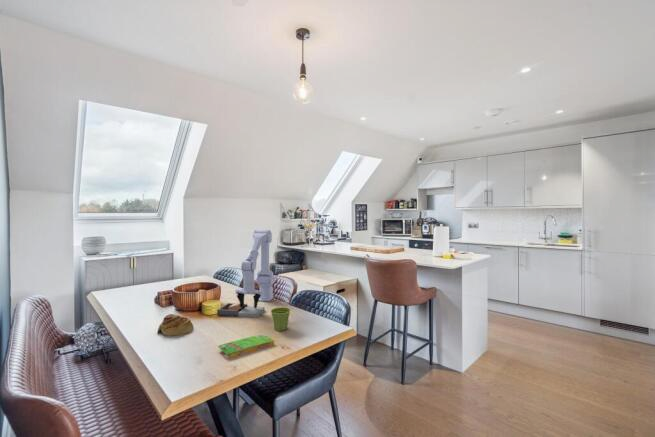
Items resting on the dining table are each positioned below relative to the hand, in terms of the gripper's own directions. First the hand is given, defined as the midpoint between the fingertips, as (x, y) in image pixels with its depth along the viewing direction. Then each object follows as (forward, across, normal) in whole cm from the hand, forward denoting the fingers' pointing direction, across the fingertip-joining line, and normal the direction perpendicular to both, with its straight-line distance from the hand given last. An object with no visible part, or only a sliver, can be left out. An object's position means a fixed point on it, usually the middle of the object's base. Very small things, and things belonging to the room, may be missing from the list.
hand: (249, 307), depth 172 cm
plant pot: (+3, +24, -20) cm, 31 cm away
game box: (+3, +16, -42) cm, 45 cm away
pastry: (+3, -23, -30) cm, 38 cm away
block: (+1, -7, 0) cm, 7 cm away
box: (+3, -9, -2) cm, 9 cm away
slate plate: (+3, +2, -2) cm, 4 cm away
